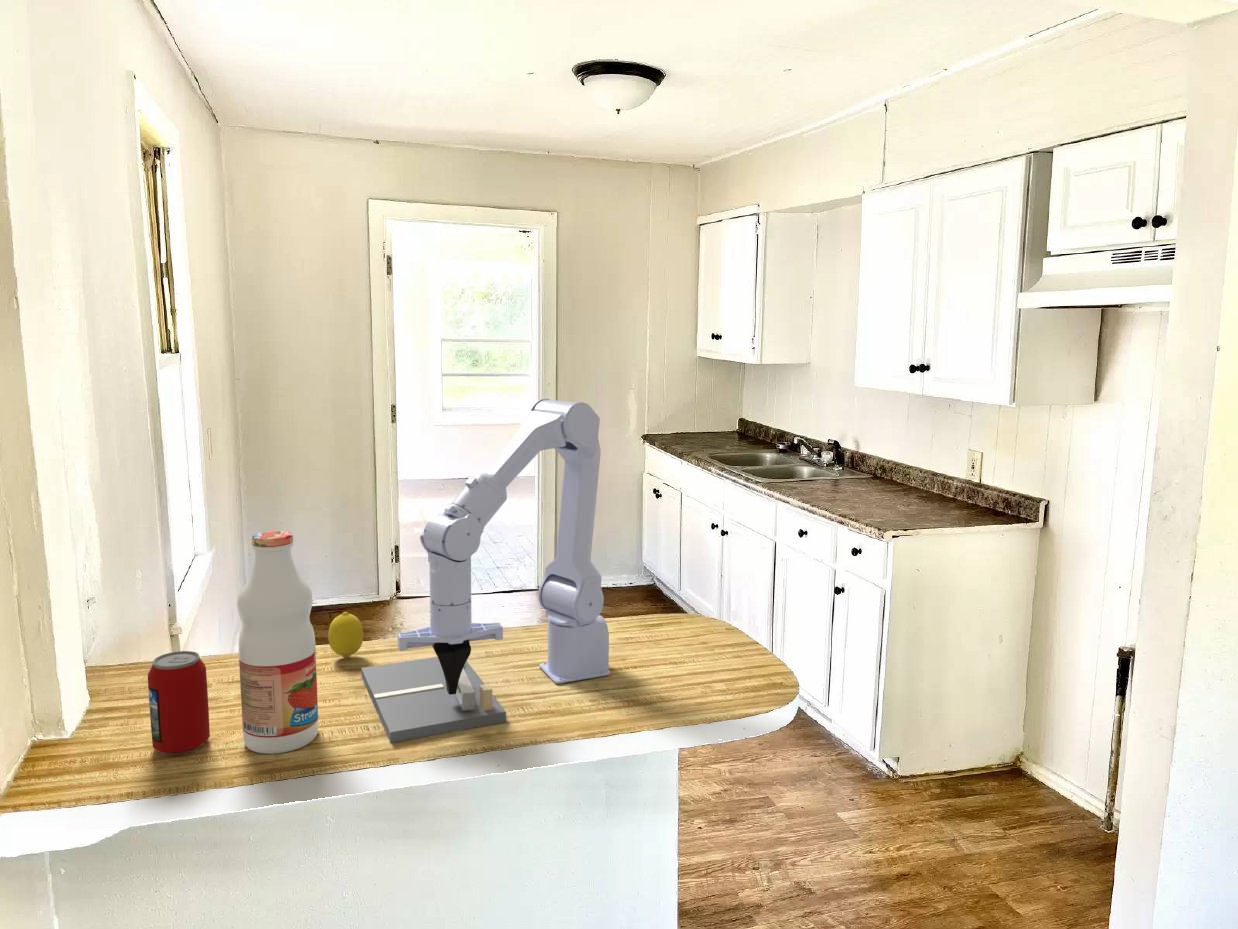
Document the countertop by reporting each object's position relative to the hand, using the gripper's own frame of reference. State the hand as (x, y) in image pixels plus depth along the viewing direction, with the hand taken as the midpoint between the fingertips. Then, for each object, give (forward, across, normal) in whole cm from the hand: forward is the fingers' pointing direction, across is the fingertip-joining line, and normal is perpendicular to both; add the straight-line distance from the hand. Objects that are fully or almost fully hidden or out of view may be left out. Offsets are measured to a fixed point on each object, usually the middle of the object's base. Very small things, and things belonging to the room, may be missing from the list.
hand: (451, 691), depth 123 cm
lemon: (+3, -13, +26) cm, 30 cm away
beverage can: (+4, -35, +2) cm, 35 cm away
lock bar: (+1, +2, +2) cm, 3 cm away
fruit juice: (+4, -23, 0) cm, 23 cm away
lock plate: (+3, -2, +6) cm, 7 cm away
